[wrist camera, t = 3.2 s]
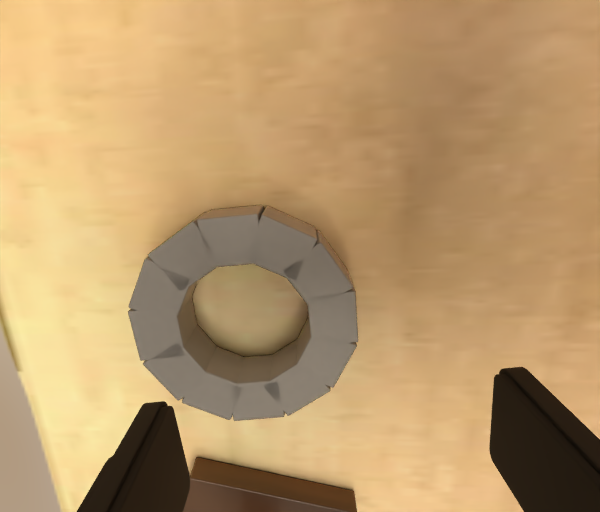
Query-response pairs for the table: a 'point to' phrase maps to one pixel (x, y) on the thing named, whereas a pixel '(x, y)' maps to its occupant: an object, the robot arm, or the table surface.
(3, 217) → the table surface
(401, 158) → the table surface
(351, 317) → the grey ring
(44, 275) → the table surface
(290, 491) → the spindle
